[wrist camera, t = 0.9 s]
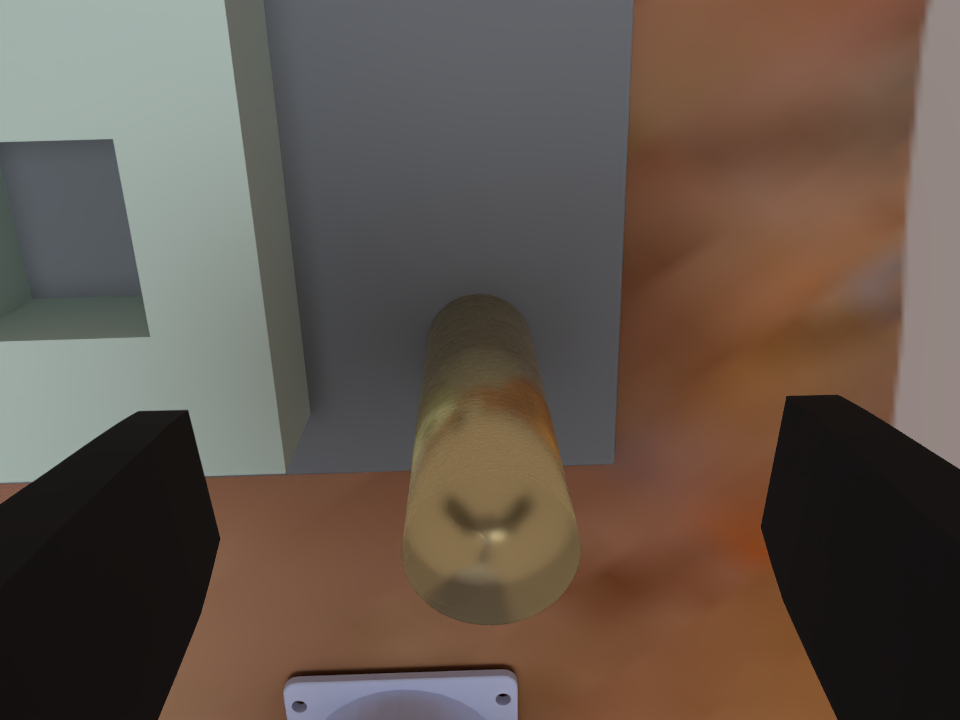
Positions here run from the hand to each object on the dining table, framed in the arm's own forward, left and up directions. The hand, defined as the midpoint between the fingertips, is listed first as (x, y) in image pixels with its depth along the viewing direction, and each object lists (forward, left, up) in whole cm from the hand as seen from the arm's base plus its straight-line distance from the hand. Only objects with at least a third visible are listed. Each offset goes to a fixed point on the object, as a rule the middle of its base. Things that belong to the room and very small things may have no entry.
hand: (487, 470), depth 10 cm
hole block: (+1, +10, -13) cm, 16 cm away
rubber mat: (0, +6, -13) cm, 14 cm away
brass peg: (-3, 0, -13) cm, 13 cm away
